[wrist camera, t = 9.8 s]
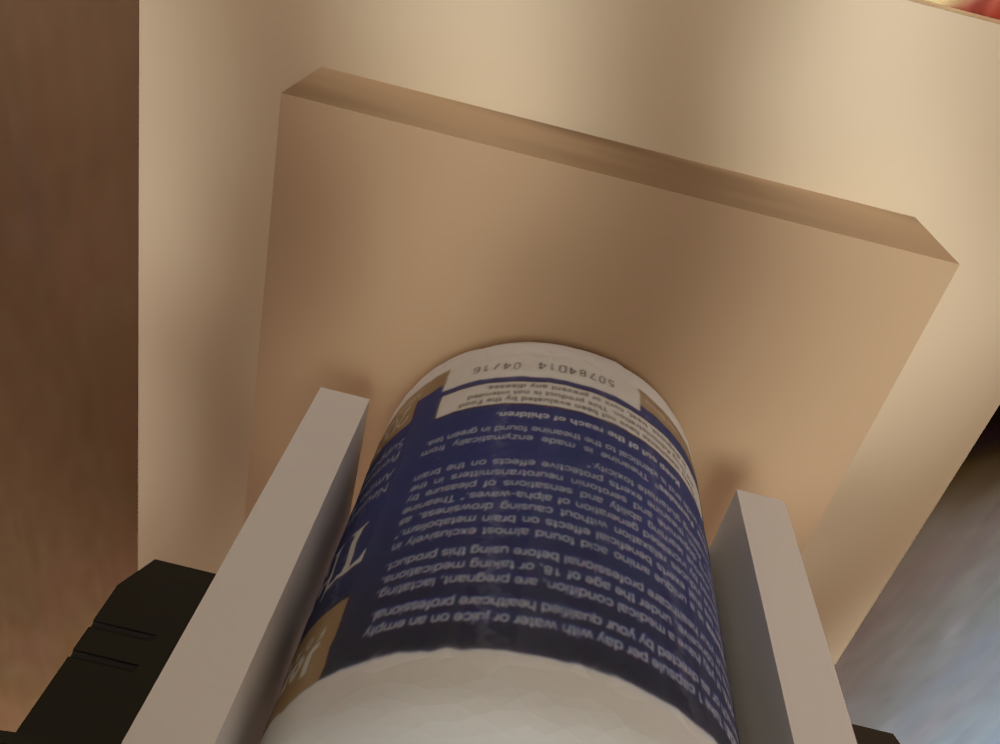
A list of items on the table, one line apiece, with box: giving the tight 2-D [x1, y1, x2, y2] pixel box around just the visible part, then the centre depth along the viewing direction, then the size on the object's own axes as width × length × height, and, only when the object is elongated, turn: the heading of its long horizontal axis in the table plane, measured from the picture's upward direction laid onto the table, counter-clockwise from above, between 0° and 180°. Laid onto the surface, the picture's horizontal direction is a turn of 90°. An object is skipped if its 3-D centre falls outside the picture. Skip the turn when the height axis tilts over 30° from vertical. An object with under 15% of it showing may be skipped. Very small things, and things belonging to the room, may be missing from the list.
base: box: [138, 0, 1000, 666], centre depth 16 cm, size 16×16×4 cm
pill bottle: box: [260, 342, 740, 744], centre depth 11 cm, size 5×5×10 cm
